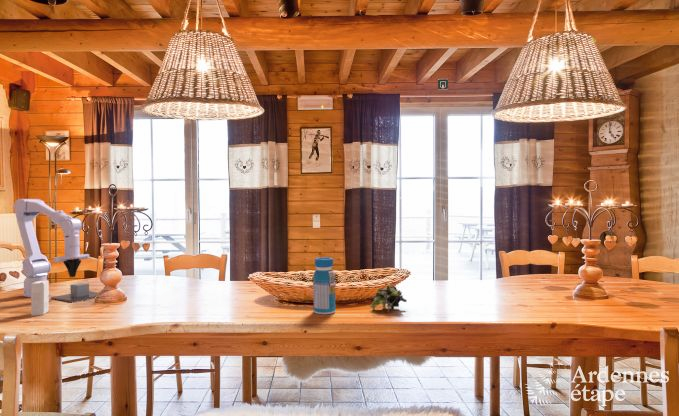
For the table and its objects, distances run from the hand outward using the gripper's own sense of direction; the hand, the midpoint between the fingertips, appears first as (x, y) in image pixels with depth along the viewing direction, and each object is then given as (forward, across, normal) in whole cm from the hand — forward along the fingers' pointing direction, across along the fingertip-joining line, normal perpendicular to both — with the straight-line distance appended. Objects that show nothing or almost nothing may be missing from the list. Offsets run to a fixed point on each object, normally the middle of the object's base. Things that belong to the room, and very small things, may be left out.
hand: (72, 276), depth 200 cm
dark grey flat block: (+9, +2, -2) cm, 10 cm away
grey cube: (+8, +2, -2) cm, 9 cm away
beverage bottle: (+9, +27, -113) cm, 117 cm away
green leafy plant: (+9, +40, -133) cm, 139 cm away
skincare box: (+9, -23, -19) cm, 31 cm away
